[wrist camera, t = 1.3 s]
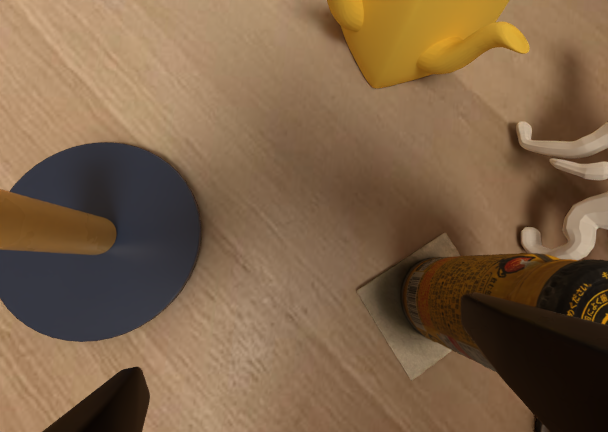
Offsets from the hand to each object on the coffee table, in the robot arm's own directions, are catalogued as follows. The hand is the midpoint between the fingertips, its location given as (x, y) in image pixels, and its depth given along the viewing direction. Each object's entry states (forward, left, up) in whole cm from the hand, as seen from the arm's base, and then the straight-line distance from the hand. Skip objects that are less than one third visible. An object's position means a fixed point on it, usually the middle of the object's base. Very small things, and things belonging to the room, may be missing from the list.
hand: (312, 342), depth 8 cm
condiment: (+1, -10, -13) cm, 17 cm away
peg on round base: (+2, +14, -13) cm, 19 cm away
